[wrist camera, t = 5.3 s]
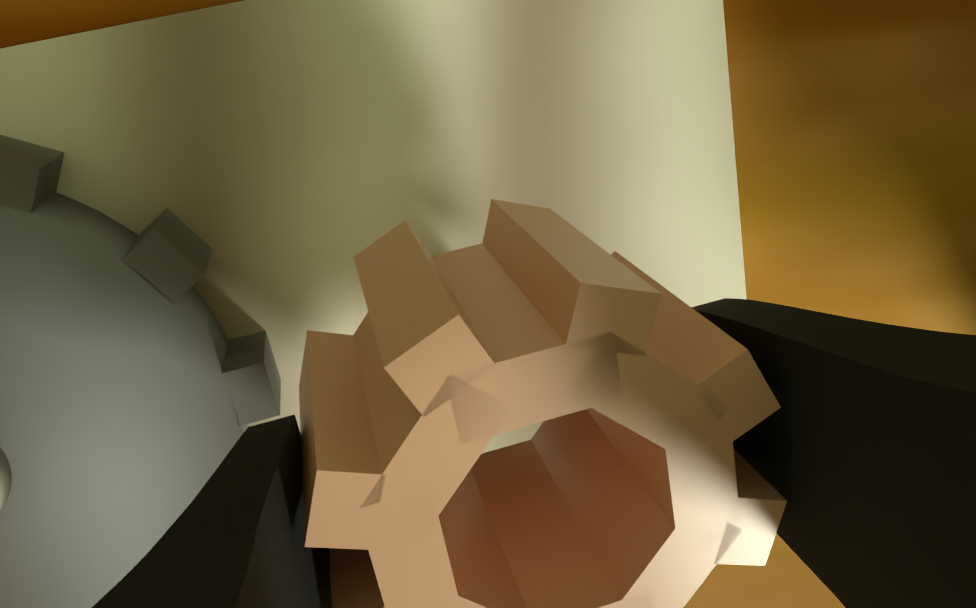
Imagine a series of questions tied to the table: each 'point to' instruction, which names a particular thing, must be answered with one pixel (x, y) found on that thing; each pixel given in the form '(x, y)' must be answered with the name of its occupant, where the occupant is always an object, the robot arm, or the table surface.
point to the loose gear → (521, 402)
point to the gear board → (300, 219)
